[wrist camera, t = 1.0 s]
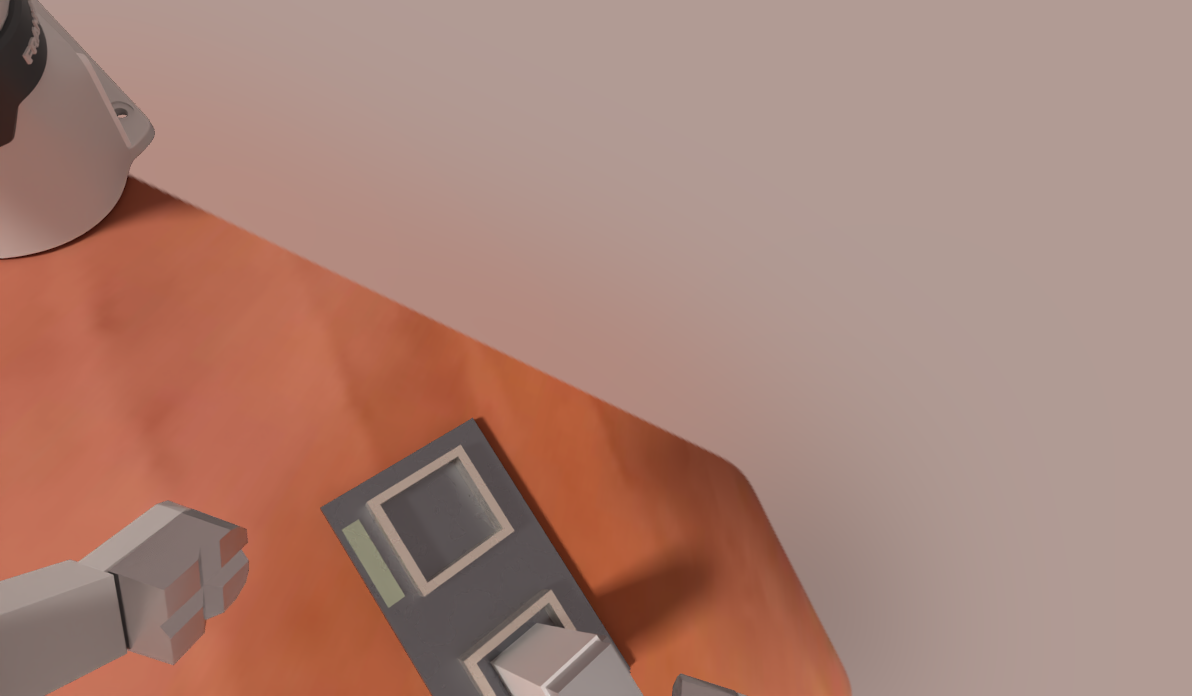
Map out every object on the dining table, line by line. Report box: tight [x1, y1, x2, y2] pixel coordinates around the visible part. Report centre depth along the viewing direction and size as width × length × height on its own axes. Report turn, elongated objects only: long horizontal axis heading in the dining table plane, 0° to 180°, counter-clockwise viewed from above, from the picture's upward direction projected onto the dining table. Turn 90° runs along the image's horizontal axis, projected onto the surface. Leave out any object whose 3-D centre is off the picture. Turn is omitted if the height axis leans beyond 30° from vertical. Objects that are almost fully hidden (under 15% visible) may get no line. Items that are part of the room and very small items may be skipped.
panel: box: [320, 418, 630, 696], centre depth 42 cm, size 22×12×3 cm, turn 37°
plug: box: [490, 623, 643, 696], centre depth 37 cm, size 4×5×13 cm
